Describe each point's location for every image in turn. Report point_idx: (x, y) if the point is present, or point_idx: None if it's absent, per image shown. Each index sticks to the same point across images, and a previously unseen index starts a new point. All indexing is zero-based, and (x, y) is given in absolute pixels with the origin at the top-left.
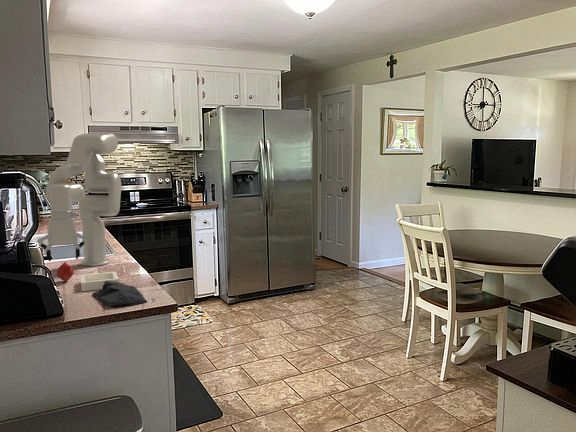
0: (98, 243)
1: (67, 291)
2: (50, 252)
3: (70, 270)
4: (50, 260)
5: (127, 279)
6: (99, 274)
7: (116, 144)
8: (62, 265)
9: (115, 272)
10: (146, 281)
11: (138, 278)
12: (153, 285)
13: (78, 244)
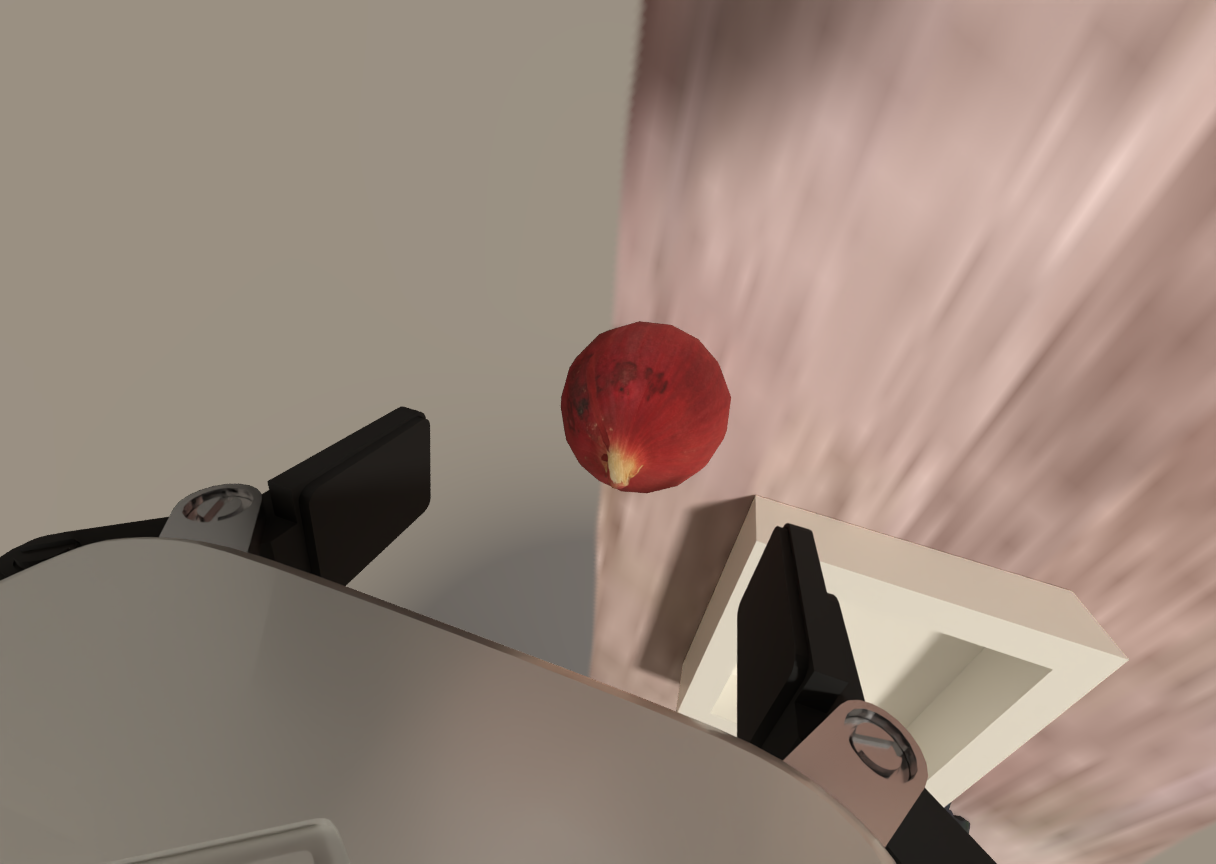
0: None
1: (614, 613)
2: (344, 541)
3: (678, 484)
4: (425, 506)
5: (1142, 658)
6: (915, 619)
7: None
8: (592, 461)
9: (1083, 684)
10: (1198, 789)
11: None
12: (1124, 860)
13: (880, 841)
